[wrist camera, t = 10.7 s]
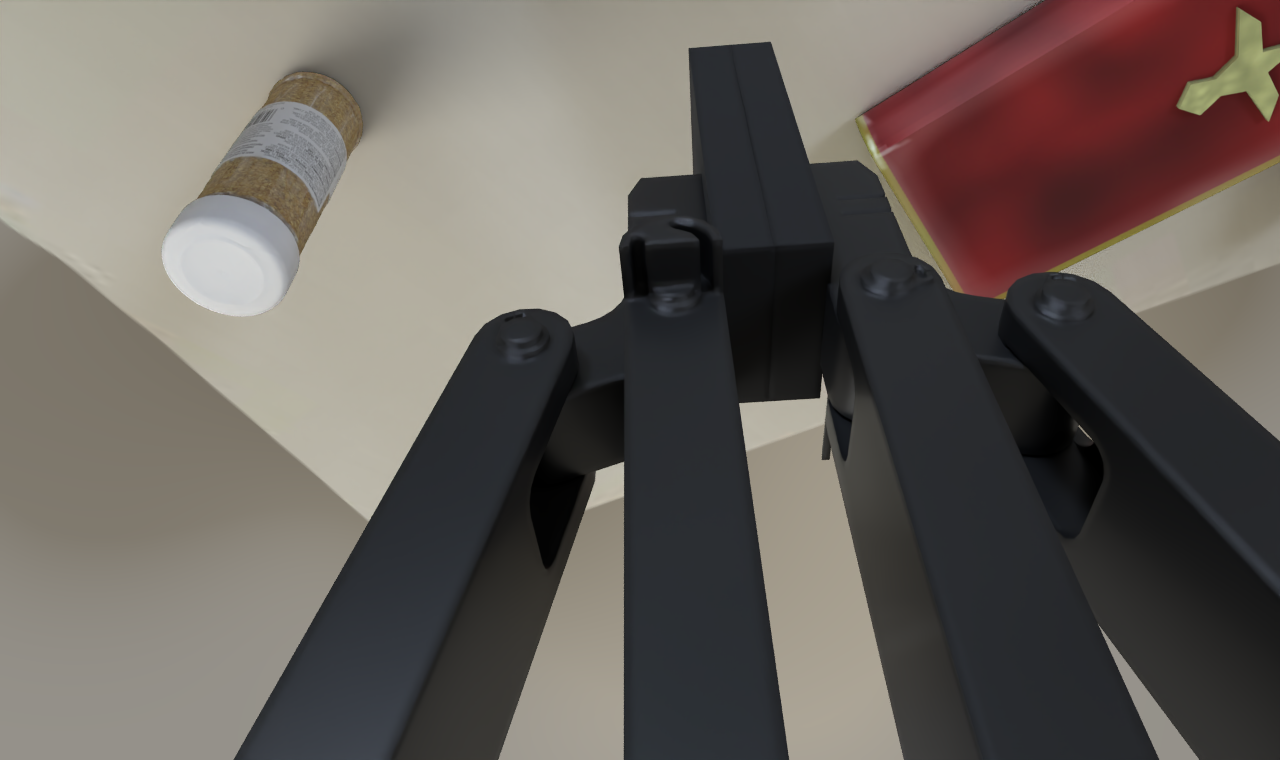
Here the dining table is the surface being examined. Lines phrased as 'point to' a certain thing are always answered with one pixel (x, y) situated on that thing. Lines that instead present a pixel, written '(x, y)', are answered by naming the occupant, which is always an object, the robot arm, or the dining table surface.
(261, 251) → the sprinkles bottle
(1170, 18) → the hardcover book
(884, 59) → the dining table surface
